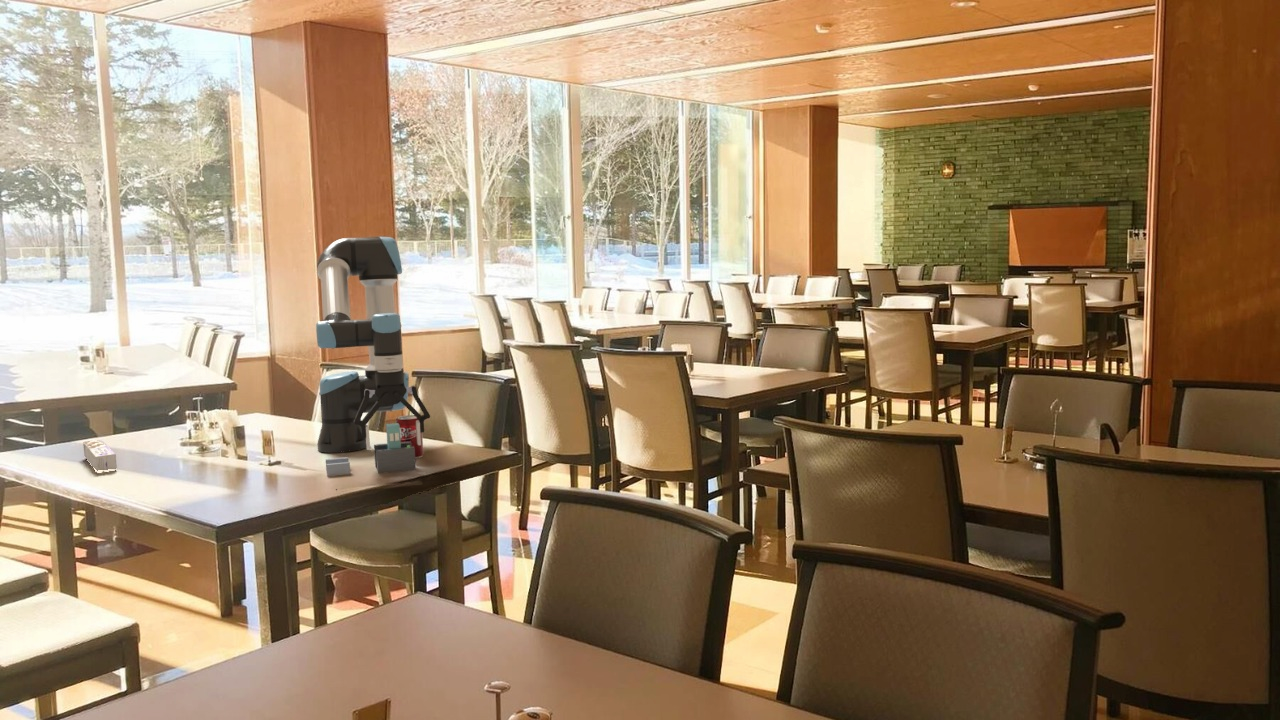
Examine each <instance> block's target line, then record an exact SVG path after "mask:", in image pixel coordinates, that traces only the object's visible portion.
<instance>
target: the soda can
mask: <svg viewBox="0 0 1280 720" xmlns="http://www.w3.org/2000/svg"><path fill="white" fill-rule="evenodd" d="M417 420H419V419H418V418H417V417H416V416H415V415H414V414H408V415H401V416H397V417H396V419H395V423H398V424H399V425H400V442H409V441H411V445H412V447H414V448H415V460H418V459H421V458H422V457H423V456H424V440H423V433H420V435H421V445H418V444H417V432H416V421H417Z"/></svg>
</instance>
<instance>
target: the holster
mask: <svg viewBox="0 0 1280 720" xmlns="http://www.w3.org/2000/svg"><path fill="white" fill-rule="evenodd" d="M350 463H351V462H350V461H349V457H348V456H347V457H335V458H326V459H325V470H326V477H331V476H332V477H333V476H342V475H351V464H350Z"/></svg>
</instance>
